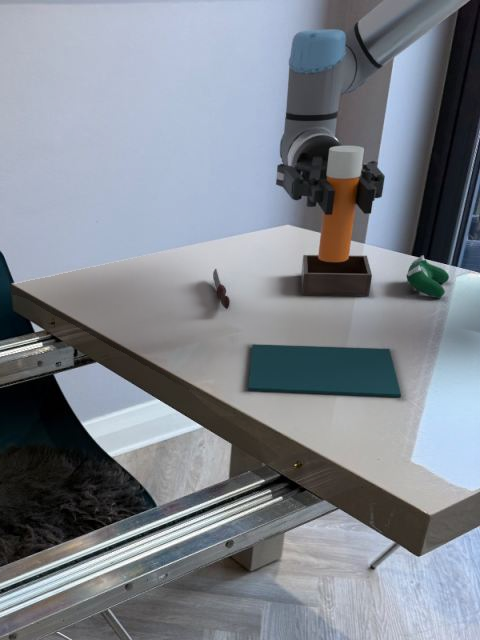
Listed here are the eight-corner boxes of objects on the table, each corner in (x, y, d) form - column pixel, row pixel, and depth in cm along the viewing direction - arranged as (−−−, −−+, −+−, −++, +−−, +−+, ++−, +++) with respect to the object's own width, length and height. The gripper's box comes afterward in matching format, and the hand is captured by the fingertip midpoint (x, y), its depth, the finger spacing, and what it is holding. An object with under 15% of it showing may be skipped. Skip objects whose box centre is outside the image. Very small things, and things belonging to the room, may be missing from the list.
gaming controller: (430, 291, 128) (407, 263, 128) (451, 276, 126) (428, 247, 125) (424, 310, 122) (400, 280, 121) (446, 294, 119) (421, 264, 118)
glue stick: (348, 253, 102) (362, 145, 95) (350, 262, 99) (365, 151, 92) (317, 253, 103) (328, 145, 96) (317, 262, 100) (329, 151, 92)
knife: (208, 279, 133) (209, 261, 132) (217, 279, 133) (218, 261, 131) (221, 317, 118) (222, 298, 116) (231, 317, 118) (232, 298, 116)
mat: (388, 351, 105) (389, 348, 105) (400, 397, 94) (401, 394, 93) (252, 346, 108) (252, 344, 108) (247, 390, 97) (248, 387, 97)
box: (363, 276, 131) (366, 255, 129) (368, 296, 123) (372, 274, 121) (301, 275, 133) (303, 254, 131) (301, 295, 125) (304, 273, 123)
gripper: (374, 189, 113) (417, 233, 93) (256, 193, 114) (274, 236, 95) (383, 131, 108) (430, 165, 89) (259, 136, 110) (279, 170, 91)
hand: (349, 202), depth 92 cm, fingers closed on glue stick, 4 cm apart
